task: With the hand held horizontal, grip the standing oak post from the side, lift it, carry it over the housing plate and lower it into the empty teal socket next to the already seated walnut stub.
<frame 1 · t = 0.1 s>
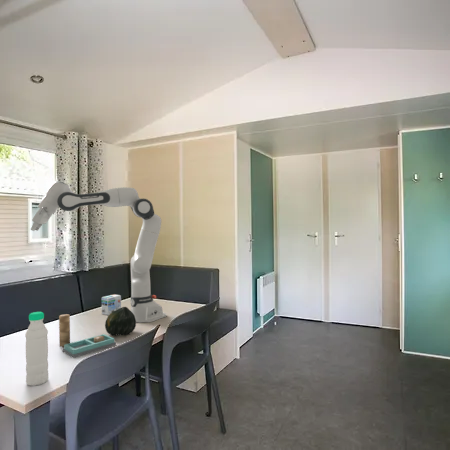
hand: (34, 230, 181), 54 cm above the table, tool tilted 30°, fingers open, 8 cm apart
squash: (121, 334, 173), on the table
light bulb box: (111, 313, 215), on the table
housing plate: (89, 348, 154), on the table
water bottle: (37, 382, 121), on the table
oak post: (64, 345, 158), on the table
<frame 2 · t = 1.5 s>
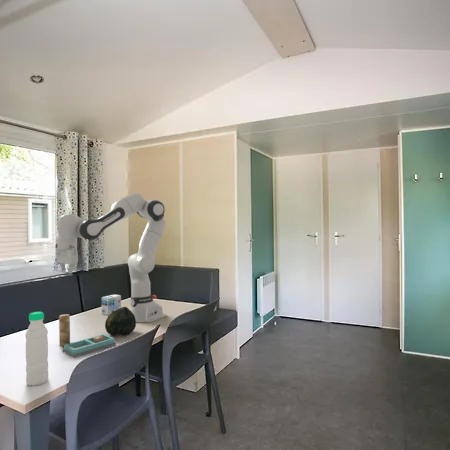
hand: (66, 272, 171), 33 cm above the table, tool pointing down, fingers open, 8 cm apart
nothing on the table moved.
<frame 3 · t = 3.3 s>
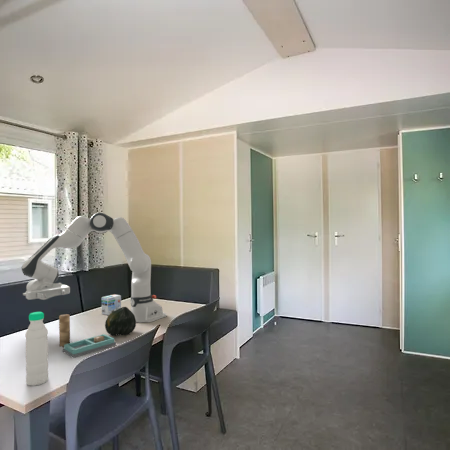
hand: (54, 294, 166), 22 cm above the table, tool horizontal, fingers open, 8 cm apart
nothing on the table moved.
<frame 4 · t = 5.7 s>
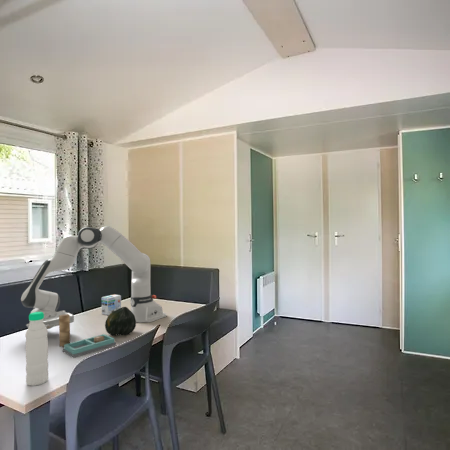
hand: (58, 325, 163), 8 cm above the table, tool horizontal, fingers open, 8 cm apart
nothing on the table moved.
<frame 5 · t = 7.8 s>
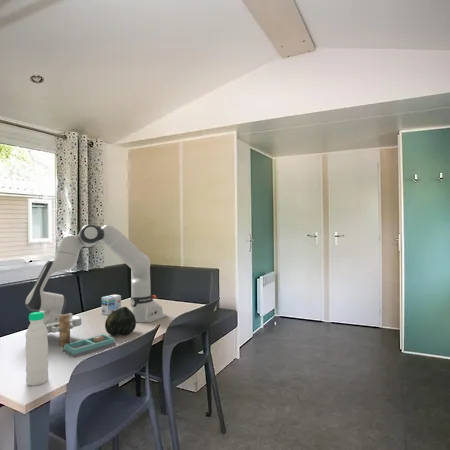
hand: (65, 328, 157), 8 cm above the table, tool horizontal, fingers closed on oak post, 4 cm apart
oak post: (64, 345, 158), on the table, touching gripper
everything else where it was.
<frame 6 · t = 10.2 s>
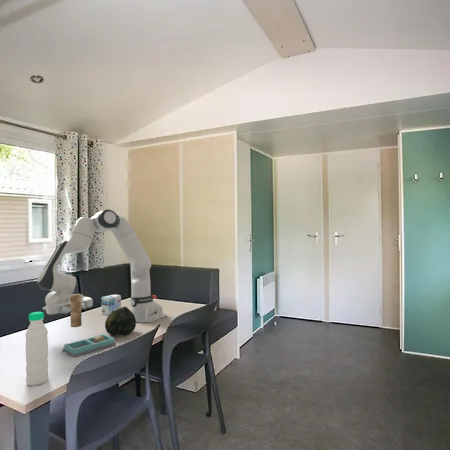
hand: (76, 308, 151), 19 cm above the table, tool horizontal, fingers closed on oak post, 4 cm apart
oak post: (76, 325, 152), point 11 cm above the table, touching gripper
everything else where it was.
when the fingers open (11 cm above the table, at t = 12.5 s): oak post drops 1 cm, resting on housing plate.
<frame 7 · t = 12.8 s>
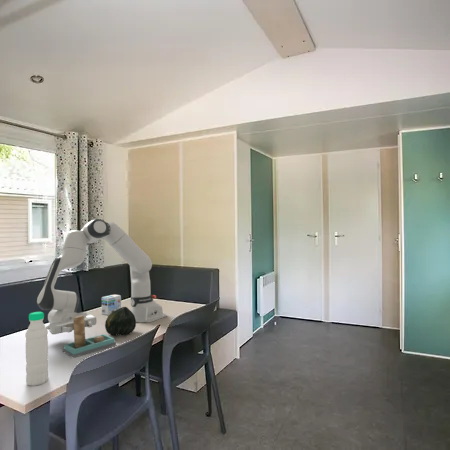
hand: (80, 327, 150), 11 cm above the table, tool horizontal, fingers open, 8 cm apart
oak post: (80, 348, 150), point 1 cm above the table, touching housing plate
everything else where it was.
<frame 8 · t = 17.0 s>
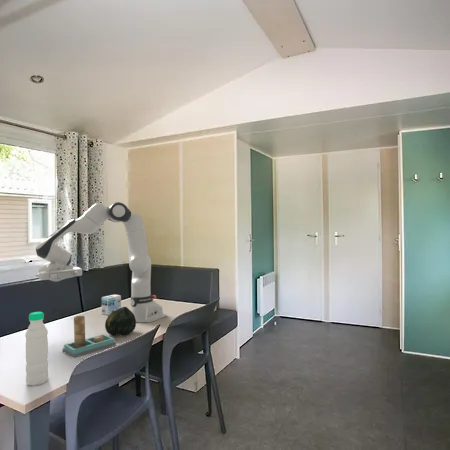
hand: (67, 275, 165), 32 cm above the table, tool horizontal, fingers open, 8 cm apart
nothing on the table moved.
at the end: oak post 0.0 cm from the target spot on the housing plate, point 1.2 cm above the housing plate's base; oak post tilted 1°; the gripper is holding nothing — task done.
